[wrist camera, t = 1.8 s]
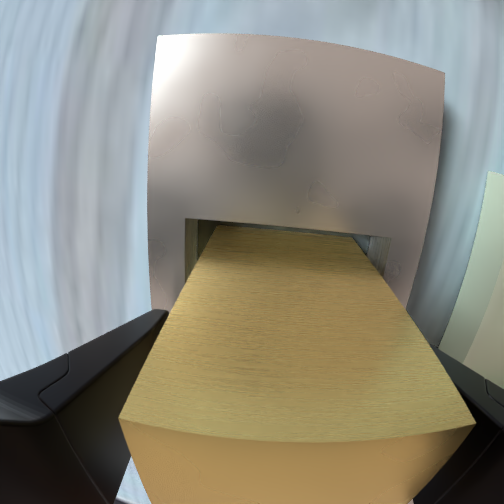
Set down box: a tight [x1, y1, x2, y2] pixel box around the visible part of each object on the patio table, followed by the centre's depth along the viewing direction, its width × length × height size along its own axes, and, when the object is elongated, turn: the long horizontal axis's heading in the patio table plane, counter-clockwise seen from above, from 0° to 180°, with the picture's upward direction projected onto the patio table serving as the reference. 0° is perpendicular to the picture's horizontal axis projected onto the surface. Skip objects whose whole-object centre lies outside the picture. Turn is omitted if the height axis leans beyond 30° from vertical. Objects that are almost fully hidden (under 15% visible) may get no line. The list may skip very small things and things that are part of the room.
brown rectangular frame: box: [147, 34, 445, 314], centre depth 10 cm, size 8×16×2 cm, turn 175°
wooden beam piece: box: [118, 225, 476, 504], centre depth 8 cm, size 4×4×8 cm
